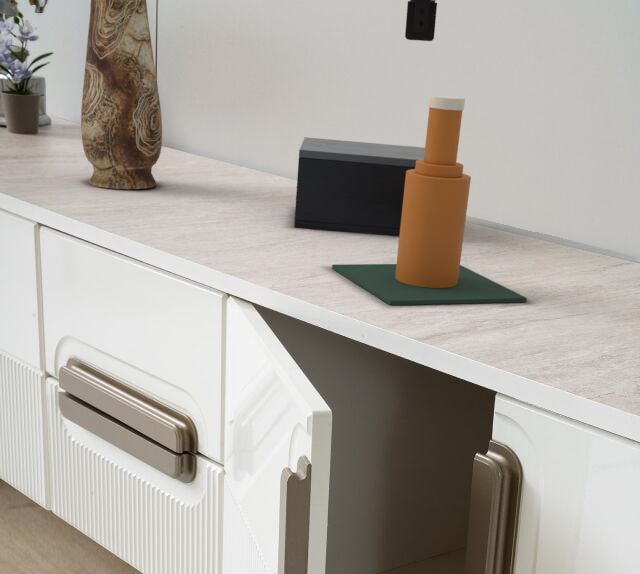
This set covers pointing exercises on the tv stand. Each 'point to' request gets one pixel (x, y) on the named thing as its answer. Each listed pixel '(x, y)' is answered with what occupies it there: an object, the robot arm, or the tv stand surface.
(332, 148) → the lid
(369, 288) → the mat
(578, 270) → the tv stand surface
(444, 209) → the bottle
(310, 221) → the black rectangular box
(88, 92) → the vase
